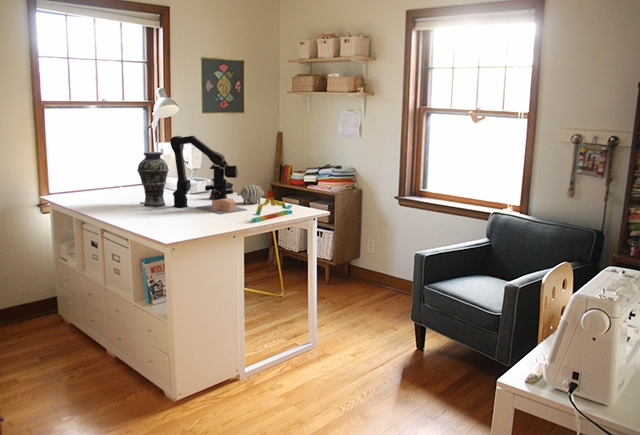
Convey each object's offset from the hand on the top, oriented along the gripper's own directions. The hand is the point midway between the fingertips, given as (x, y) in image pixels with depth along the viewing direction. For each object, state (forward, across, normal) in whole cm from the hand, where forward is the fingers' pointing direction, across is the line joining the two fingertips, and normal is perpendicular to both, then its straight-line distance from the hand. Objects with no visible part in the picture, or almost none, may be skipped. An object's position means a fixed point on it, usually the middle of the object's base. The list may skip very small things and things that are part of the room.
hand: (219, 204), depth 337 cm
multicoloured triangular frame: (+2, -37, -7) cm, 38 cm away
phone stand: (+2, +25, -18) cm, 31 cm away
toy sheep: (+2, +1, -24) cm, 24 cm away
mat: (+2, -2, 0) cm, 3 cm away
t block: (+2, -7, 0) cm, 7 cm away
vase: (+2, +30, +23) cm, 38 cm away
